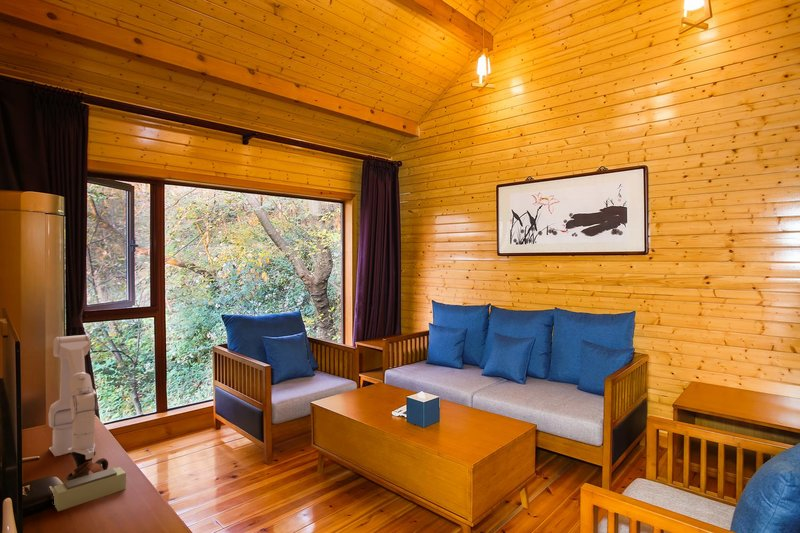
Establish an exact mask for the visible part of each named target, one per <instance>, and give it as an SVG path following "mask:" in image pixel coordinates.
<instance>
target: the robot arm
mask: <svg viewBox="0 0 800 533" xmlns="http://www.w3.org/2000/svg"><path fill="white" fill-rule="evenodd" d="M90 337H91V336H90V335H89V334H81V335H80V334H79V335H69V336H68V335H66V336H56V337H55V338H54V339H53V343H52V347H53V348H52V355H53V357H55V358H59V359H60V372H59V373H60V377H59V378H60V379H59V399H57V400H56V401H55V402H53V403H52V404H51V405H50V406H49V411H48V417H47V419H48V427H50V428H51V429H52V446H50V447H48V448H49V451H50V452H51V453H52V454H53V456H54V457H59V456H62V455H67V454H70V453H71V456H72V458H73V459H74V460H73V461H75V465H76V468H77V467H79V466H80V465H82V464H83V463H85V462H87V461H92V462H93V459H94V458H95V456H96V451H95V448H96V442H95V441H96V439H95V436H96V435H95V434H96V433H95V432H96V429H95V428H96V411H97V409H98V406H99V405H98V404H99V402H98V401H99V399H98V395H97V392H96V391H95V390H96V389H95V388H93V382H92V378H91V375H90V374H89V373H87V372H86V363H85V362H86V361H85V357H86V355H88V354H89V351H90V350H91V338H90ZM95 410H96V411H95Z"/></svg>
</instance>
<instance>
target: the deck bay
mask: <svg viewBox="0 0 800 533" xmlns="http://www.w3.org/2000/svg"><path fill="white" fill-rule="evenodd" d="M49 488H50V490H51V491H52V493H53V496H54V504H53V506H54V505H55V506H54V508H55V509H56V510H57V512H61V511H64V510H67V509H70V508H72V507H76V506H79V505H81V504H85V503H88V502H91V501H94V500H97V499H101V498H103V497H107V496H109V495H112V494H116V493H118V492H121V491H125V490H127V472H126V471H125V470H124V469H123V468H122V467H120V466H118V467H110V468H107V470H103V471H100V472H97V473H93V472H92V473H89V475H86V476H83V477H79V478H76V479H73V480H69V481H68V480H66V481H63V483H60V484H57V485H53V486H52V485H49V487H48V489H49Z"/></svg>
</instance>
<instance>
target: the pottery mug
mask: <svg viewBox="0 0 800 533" xmlns="http://www.w3.org/2000/svg"><path fill="white" fill-rule="evenodd" d="M107 469H109V460H107V458H104V457H103V458H100V459H98V460H96V461H95V462H93V460H92V461H87V462H85V463H83V464H82V465H80V466H79V467H77V466H76V468H74V469H73V472H75V473H72V472H70V473H69V474H68V475H67V476H66V478H65V480H66V481H69V480H73V479H76V478H79V477H83V476H86V475H90V472H91V473H92V474H93V473H97V472H100V471H103V470H107Z"/></svg>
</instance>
